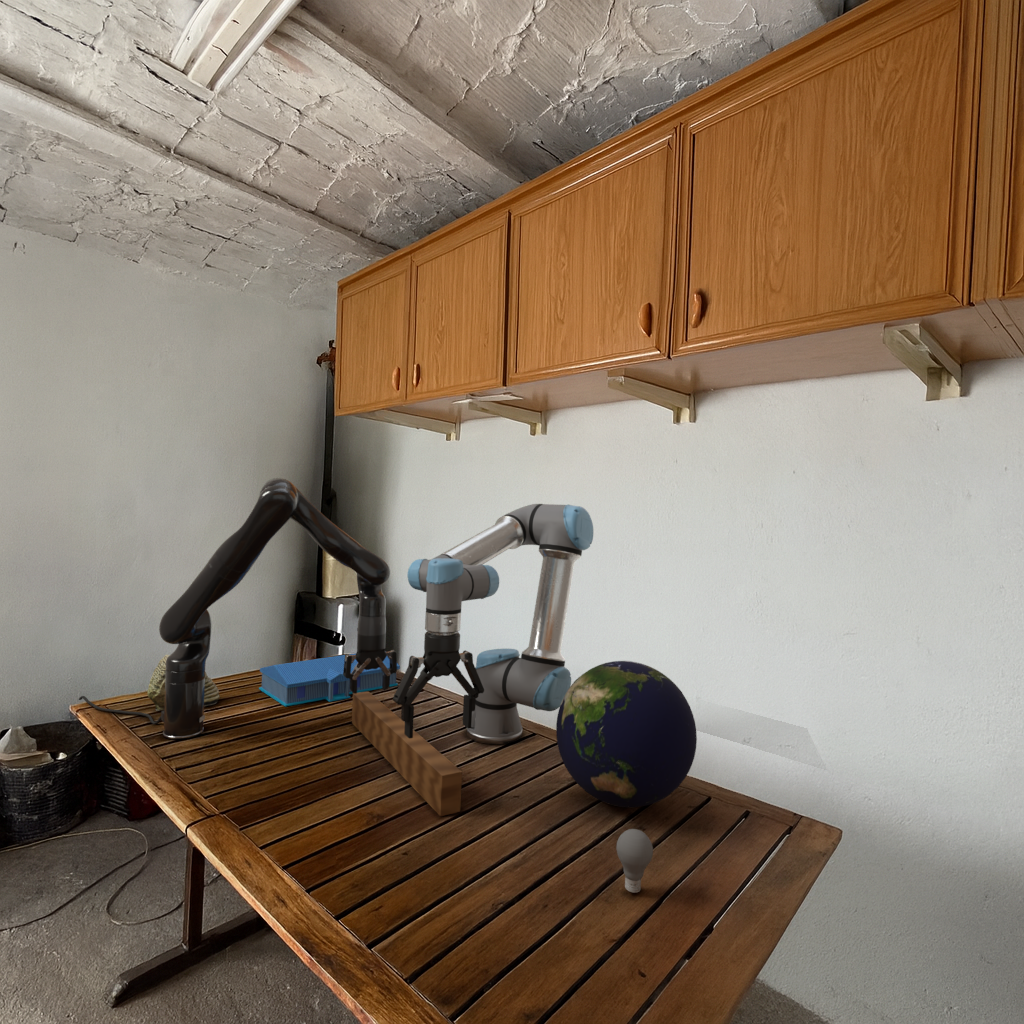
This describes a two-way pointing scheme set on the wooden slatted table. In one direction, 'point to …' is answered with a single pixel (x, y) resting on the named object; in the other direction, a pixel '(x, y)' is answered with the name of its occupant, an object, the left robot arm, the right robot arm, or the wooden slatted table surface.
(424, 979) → the wooden slatted table surface
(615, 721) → the globe
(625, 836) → the light bulb
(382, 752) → the post
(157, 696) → the fossil
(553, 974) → the wooden slatted table surface
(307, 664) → the model building
